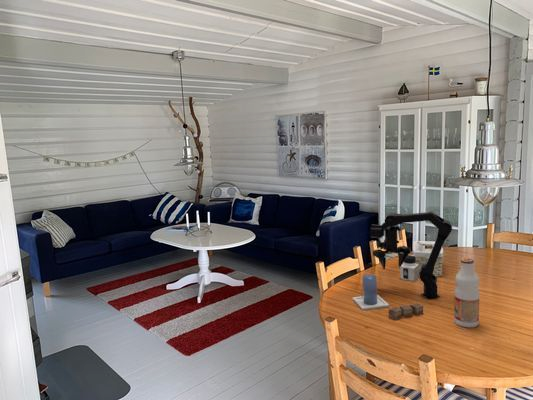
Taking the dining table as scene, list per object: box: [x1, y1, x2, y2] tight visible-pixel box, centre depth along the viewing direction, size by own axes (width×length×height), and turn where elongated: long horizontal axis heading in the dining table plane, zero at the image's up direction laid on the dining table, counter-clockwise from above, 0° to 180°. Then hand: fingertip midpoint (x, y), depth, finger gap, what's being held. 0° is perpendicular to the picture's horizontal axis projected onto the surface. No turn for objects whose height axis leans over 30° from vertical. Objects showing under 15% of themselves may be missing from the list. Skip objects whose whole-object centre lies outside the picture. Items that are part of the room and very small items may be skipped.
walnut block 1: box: [388, 306, 403, 321], centre depth 182 cm, size 4×4×4 cm
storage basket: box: [412, 240, 444, 277], centre depth 240 cm, size 24×16×15 cm
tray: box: [352, 294, 390, 311], centre depth 198 cm, size 13×13×1 cm
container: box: [400, 254, 420, 282], centre depth 228 cm, size 8×8×13 cm
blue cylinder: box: [362, 274, 378, 305], centre depth 197 cm, size 6×6×13 cm
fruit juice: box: [453, 257, 480, 329], centre depth 171 cm, size 9×9×28 cm
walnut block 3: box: [409, 302, 424, 317], centre depth 184 cm, size 4×4×4 cm
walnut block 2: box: [399, 304, 413, 319], centre depth 183 cm, size 4×4×4 cm
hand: (391, 267), depth 209 cm, fingers open, 9 cm apart
